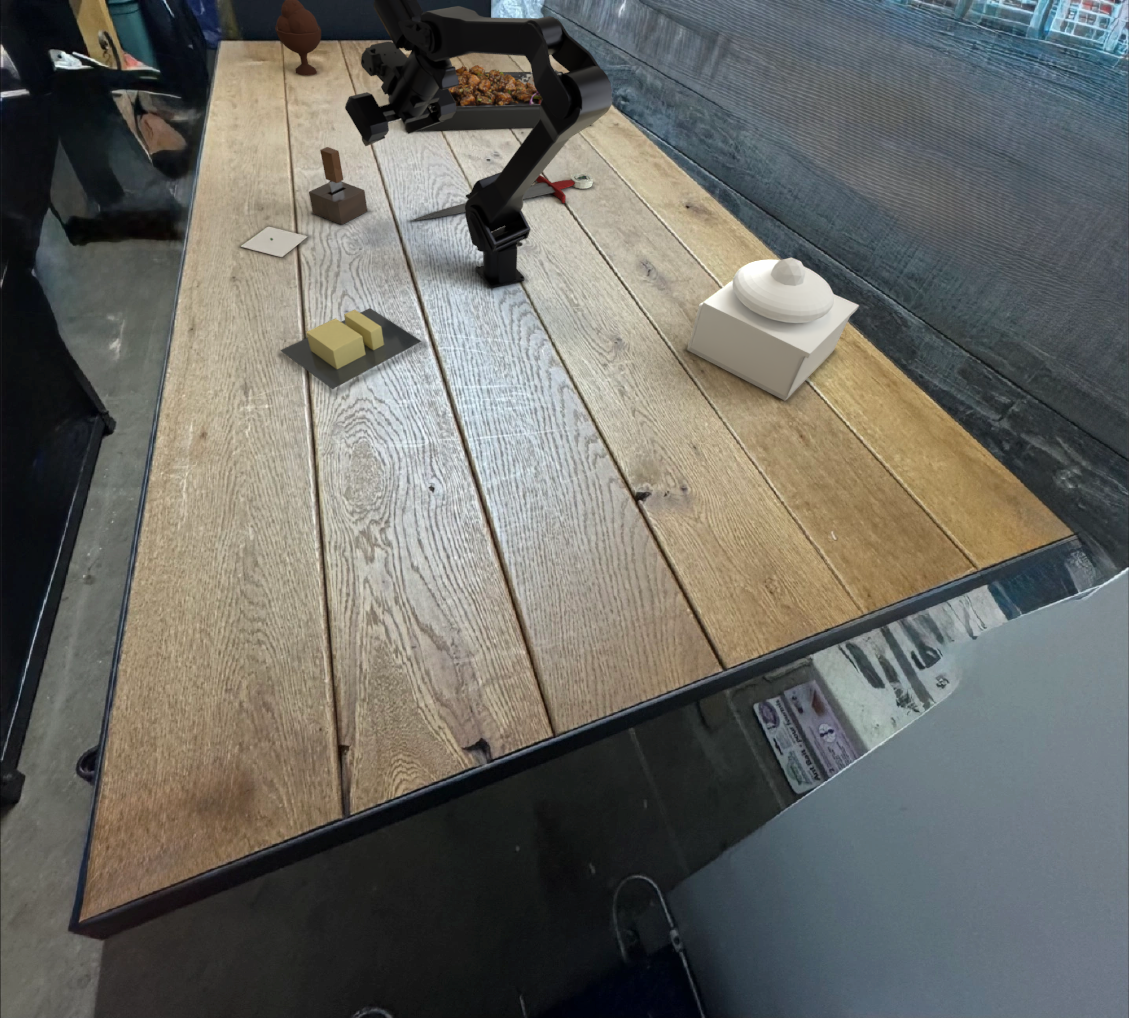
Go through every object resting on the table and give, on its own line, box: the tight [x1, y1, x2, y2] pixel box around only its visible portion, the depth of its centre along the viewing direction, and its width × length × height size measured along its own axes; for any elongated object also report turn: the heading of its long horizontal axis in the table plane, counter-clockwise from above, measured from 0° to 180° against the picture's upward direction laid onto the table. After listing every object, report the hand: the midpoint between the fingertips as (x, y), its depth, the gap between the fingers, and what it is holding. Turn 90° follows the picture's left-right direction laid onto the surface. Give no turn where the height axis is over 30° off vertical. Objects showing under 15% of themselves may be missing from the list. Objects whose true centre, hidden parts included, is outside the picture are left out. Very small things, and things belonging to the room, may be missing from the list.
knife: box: [319, 146, 344, 195], centre depth 118 cm, size 3×3×11 cm
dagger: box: [410, 172, 594, 222], centre depth 132 cm, size 12×41×2 cm, turn 113°
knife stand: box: [308, 181, 368, 226], centre depth 121 cm, size 7×7×4 cm
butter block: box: [305, 318, 365, 369], centre depth 93 cm, size 5×6×3 cm
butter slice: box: [343, 309, 384, 350], centre depth 96 cm, size 2×6×3 cm, turn 50°
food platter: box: [402, 64, 592, 133], centre depth 159 cm, size 45×25×10 cm, turn 108°
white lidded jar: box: [686, 257, 860, 402], centre depth 98 cm, size 18×18×16 cm
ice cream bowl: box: [274, 0, 322, 76], centre depth 163 cm, size 11×11×15 cm
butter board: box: [280, 307, 422, 390], centre depth 96 cm, size 16×12×1 cm
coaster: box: [240, 226, 309, 258], centre depth 113 cm, size 8×8×1 cm
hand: (386, 136), depth 113 cm, fingers open, 9 cm apart
